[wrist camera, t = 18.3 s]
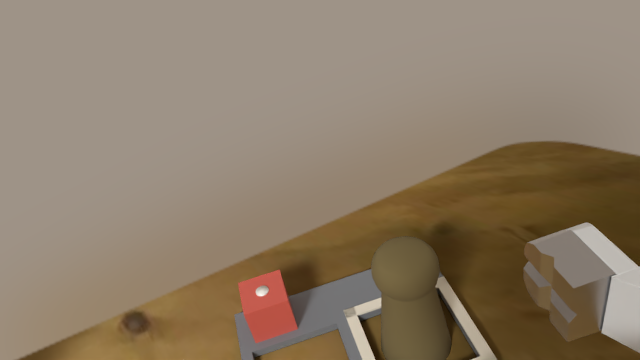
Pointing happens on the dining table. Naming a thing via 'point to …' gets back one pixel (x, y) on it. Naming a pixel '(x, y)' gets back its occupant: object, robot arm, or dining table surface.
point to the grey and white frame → (349, 318)
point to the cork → (410, 301)
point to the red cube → (267, 306)
